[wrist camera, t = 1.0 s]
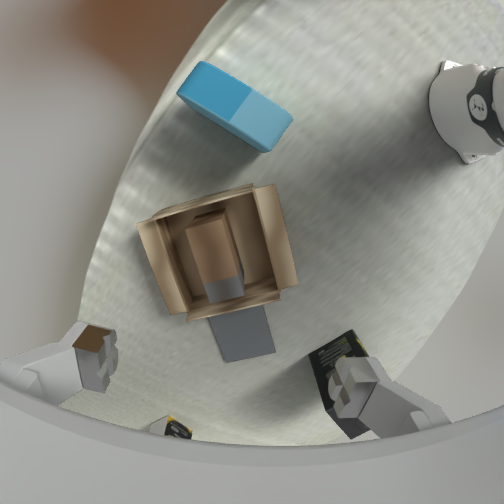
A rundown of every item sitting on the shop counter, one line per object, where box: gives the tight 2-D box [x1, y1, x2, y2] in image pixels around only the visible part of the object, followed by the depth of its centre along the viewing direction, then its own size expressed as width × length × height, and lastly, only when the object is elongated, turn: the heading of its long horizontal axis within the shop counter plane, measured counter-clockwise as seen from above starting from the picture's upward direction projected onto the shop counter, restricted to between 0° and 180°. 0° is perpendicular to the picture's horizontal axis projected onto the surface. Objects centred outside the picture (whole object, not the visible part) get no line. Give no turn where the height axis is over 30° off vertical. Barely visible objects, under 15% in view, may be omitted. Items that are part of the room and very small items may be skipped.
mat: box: [208, 305, 276, 363], centre depth 48 cm, size 9×13×1 cm
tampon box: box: [309, 330, 371, 439], centre depth 44 cm, size 11×9×15 cm
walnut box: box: [185, 208, 244, 304], centre depth 39 cm, size 4×10×8 cm, turn 15°
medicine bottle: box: [149, 415, 192, 440], centre depth 51 cm, size 7×7×12 cm
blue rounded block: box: [176, 61, 293, 153], centre depth 32 cm, size 12×4×12 cm, turn 56°
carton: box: [136, 183, 299, 321], centre depth 40 cm, size 19×15×8 cm
